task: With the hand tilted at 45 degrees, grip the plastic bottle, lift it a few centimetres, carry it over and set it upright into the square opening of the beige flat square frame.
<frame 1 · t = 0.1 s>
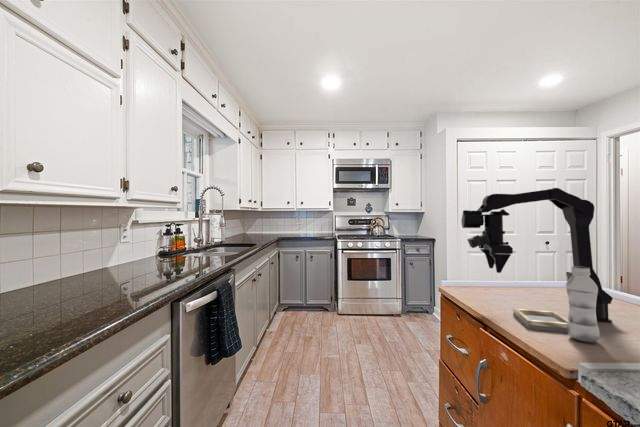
hand: (494, 270, 98), 15 cm above the counter, tool pointing down, fingers open, 9 cm apart
beige flat square frame: (542, 323, 85), on the counter
plastic bottle: (583, 341, 73), on the counter
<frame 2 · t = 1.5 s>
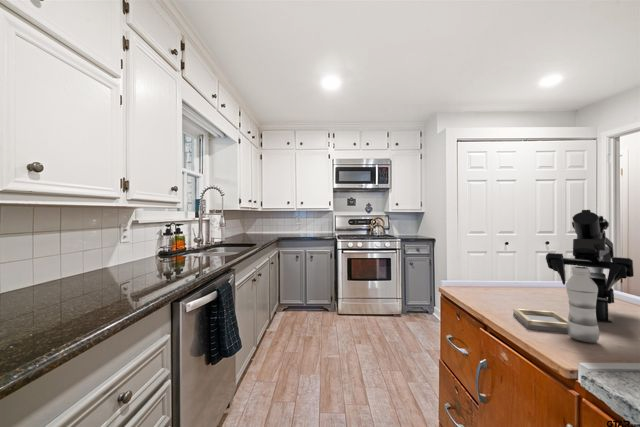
hand: (584, 286, 79), 13 cm above the counter, tool tilted 45°, fingers open, 9 cm apart
nothing on the counter moved.
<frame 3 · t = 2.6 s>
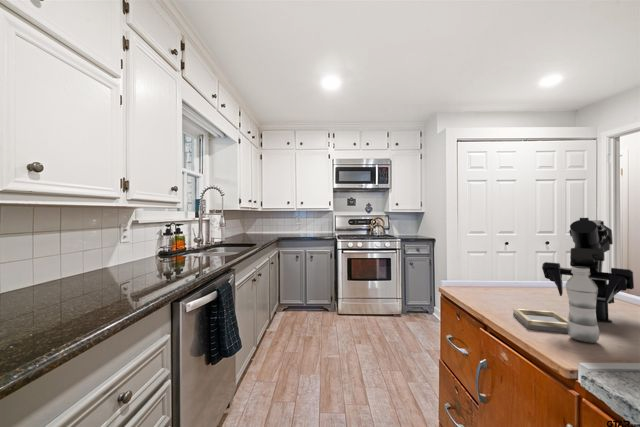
hand: (582, 298, 75), 11 cm above the counter, tool tilted 45°, fingers open, 9 cm apart
nothing on the counter moved.
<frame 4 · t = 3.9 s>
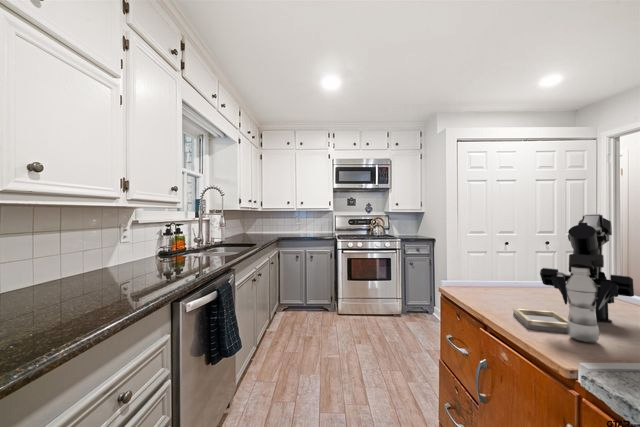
hand: (581, 306, 73), 10 cm above the counter, tool tilted 45°, fingers closed on plastic bottle, 6 cm apart
plastic bottle: (583, 341, 73), on the counter, touching gripper
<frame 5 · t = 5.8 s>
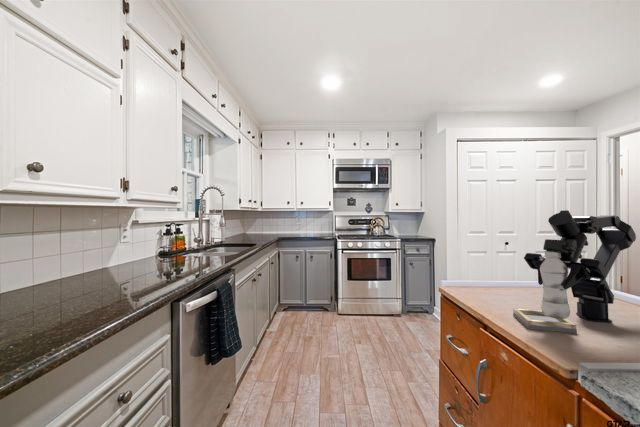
hand: (551, 286, 80), 13 cm above the counter, tool tilted 45°, fingers closed on plastic bottle, 6 cm apart
plastic bottle: (555, 318, 81), point 3 cm above the counter, touching gripper
when the fingers open (11 cm above the counter, at t = 7.6 s): plastic bottle stays where it is, resting on beige flat square frame.
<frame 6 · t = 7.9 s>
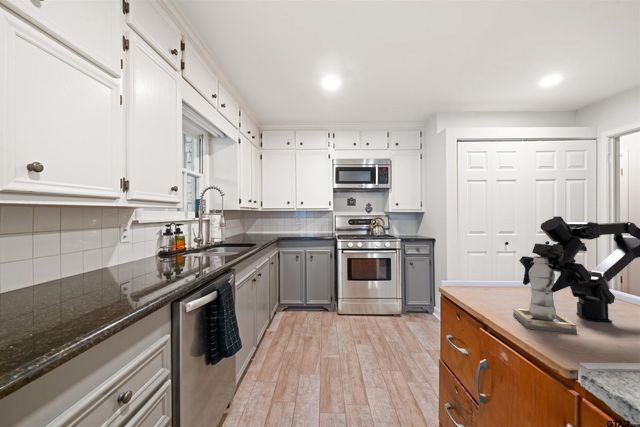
hand: (537, 287, 85), 12 cm above the counter, tool tilted 45°, fingers open, 9 cm apart
plastic bottle: (542, 320, 85), point 1 cm above the counter, touching beige flat square frame
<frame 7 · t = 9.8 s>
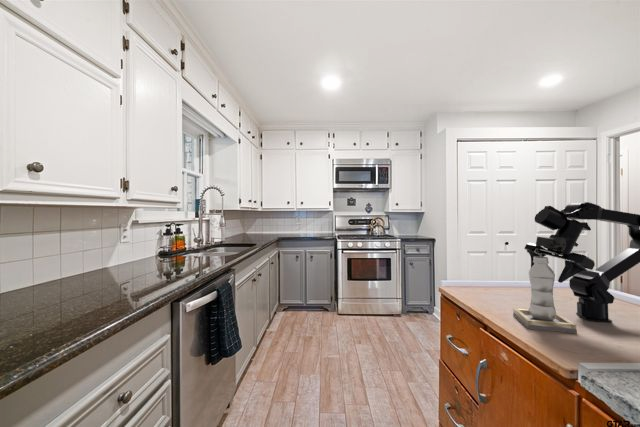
hand: (545, 277, 91), 14 cm above the counter, tool tilted 30°, fingers open, 9 cm apart
nothing on the counter moved.
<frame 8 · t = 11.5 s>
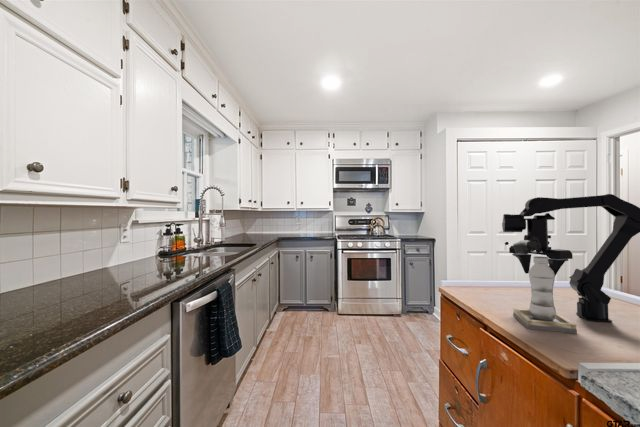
hand: (538, 275, 96), 13 cm above the counter, tool pointing down, fingers open, 9 cm apart
nothing on the counter moved.
at the end: plastic bottle 0.1 cm from the beige flat square frame (horizontally); plastic bottle tilted 0°; the gripper is holding nothing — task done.
